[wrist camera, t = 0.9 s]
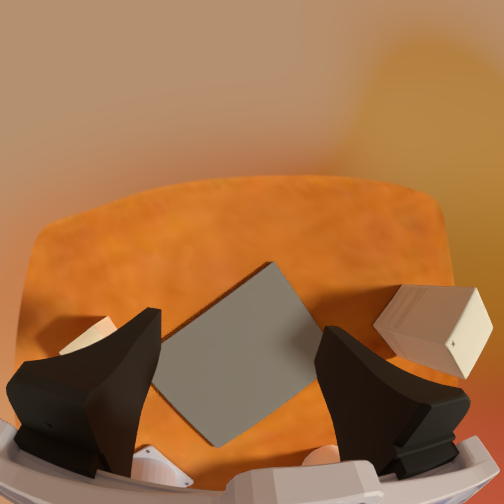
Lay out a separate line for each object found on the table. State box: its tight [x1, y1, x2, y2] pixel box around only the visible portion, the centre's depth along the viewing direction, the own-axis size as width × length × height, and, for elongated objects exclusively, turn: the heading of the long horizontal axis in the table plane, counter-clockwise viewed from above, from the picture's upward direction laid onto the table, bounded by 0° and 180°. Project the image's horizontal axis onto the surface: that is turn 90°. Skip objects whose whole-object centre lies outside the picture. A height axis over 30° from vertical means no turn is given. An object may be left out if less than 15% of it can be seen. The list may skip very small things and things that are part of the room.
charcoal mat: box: [152, 262, 323, 449], centre depth 30 cm, size 18×14×1 cm
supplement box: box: [373, 284, 493, 379], centre depth 28 cm, size 7×7×13 cm
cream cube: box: [59, 316, 118, 355], centre depth 24 cm, size 5×5×5 cm
